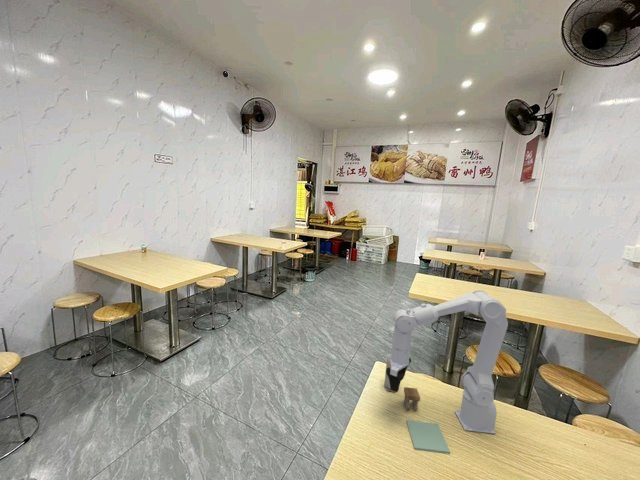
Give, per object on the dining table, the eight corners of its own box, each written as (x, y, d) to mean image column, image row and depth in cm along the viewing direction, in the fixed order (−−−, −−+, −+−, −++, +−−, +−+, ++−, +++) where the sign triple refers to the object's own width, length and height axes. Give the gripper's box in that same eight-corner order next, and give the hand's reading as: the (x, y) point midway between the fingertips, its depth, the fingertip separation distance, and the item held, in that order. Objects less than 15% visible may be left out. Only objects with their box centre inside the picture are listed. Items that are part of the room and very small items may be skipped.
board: (437, 425, 86) (437, 423, 86) (450, 453, 77) (450, 452, 76) (406, 421, 87) (406, 419, 87) (414, 449, 77) (414, 447, 77)
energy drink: (400, 392, 100) (403, 363, 99) (385, 391, 100) (388, 362, 99) (396, 383, 106) (399, 355, 104) (382, 382, 106) (385, 354, 104)
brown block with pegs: (414, 402, 96) (416, 388, 95) (418, 412, 92) (420, 397, 91) (402, 401, 96) (404, 387, 95) (405, 410, 92) (407, 395, 91)
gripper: (394, 334, 96) (391, 368, 98) (382, 352, 84) (378, 391, 86) (415, 340, 93) (411, 376, 95) (405, 360, 80) (400, 400, 82)
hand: (397, 384), depth 90 cm, fingers open, 7 cm apart
